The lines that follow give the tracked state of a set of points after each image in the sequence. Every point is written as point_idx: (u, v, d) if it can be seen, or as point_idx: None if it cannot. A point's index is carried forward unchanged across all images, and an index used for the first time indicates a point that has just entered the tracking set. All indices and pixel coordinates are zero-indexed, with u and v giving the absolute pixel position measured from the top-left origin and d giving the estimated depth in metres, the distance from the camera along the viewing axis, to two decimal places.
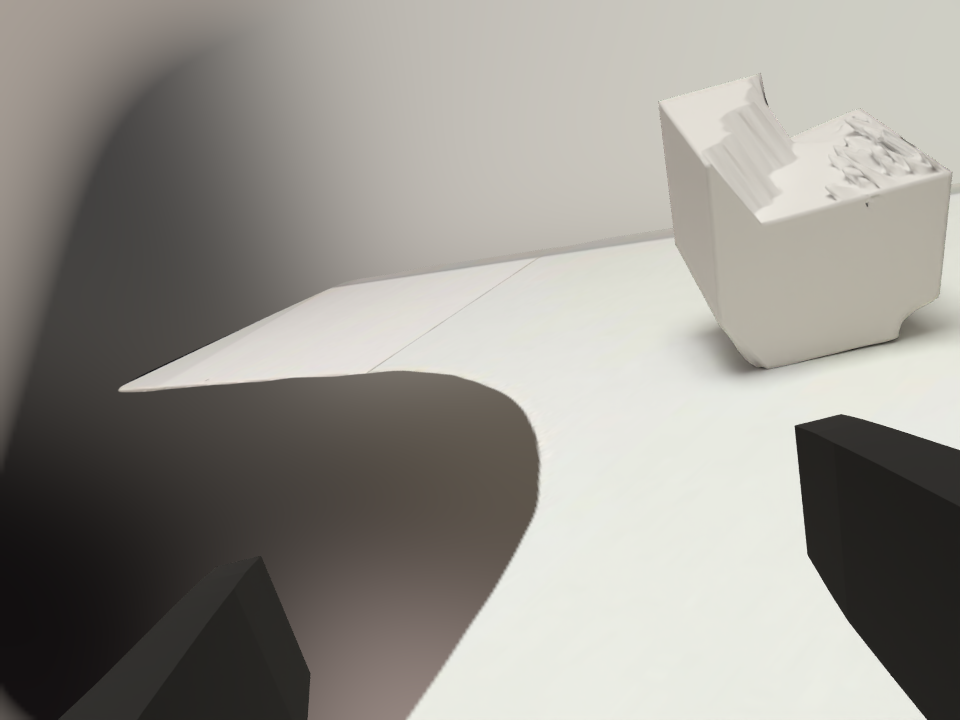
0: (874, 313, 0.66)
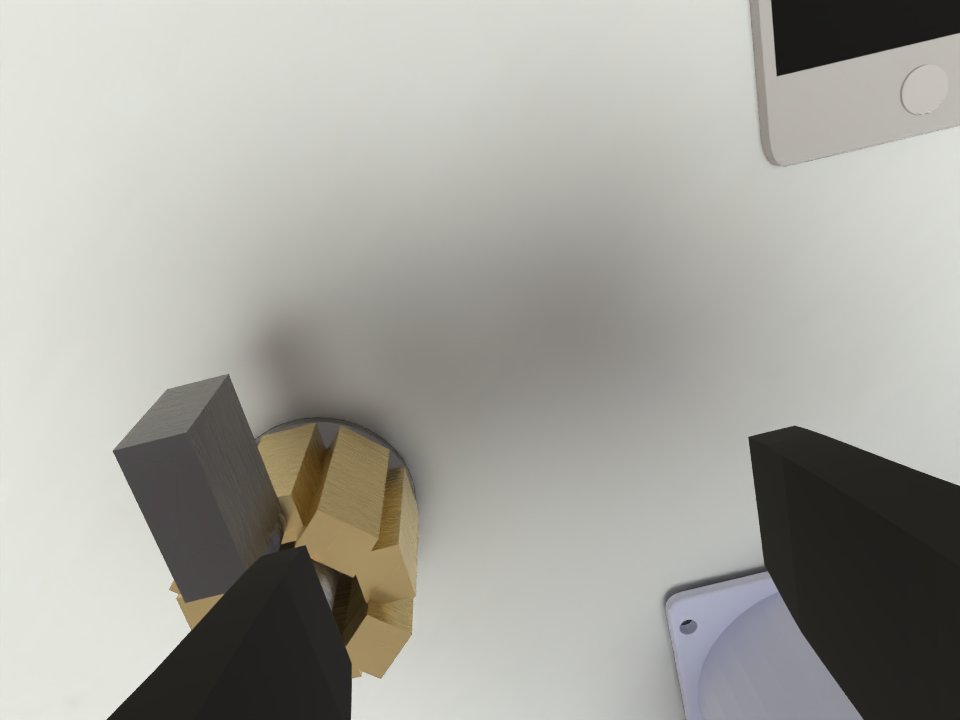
0: None
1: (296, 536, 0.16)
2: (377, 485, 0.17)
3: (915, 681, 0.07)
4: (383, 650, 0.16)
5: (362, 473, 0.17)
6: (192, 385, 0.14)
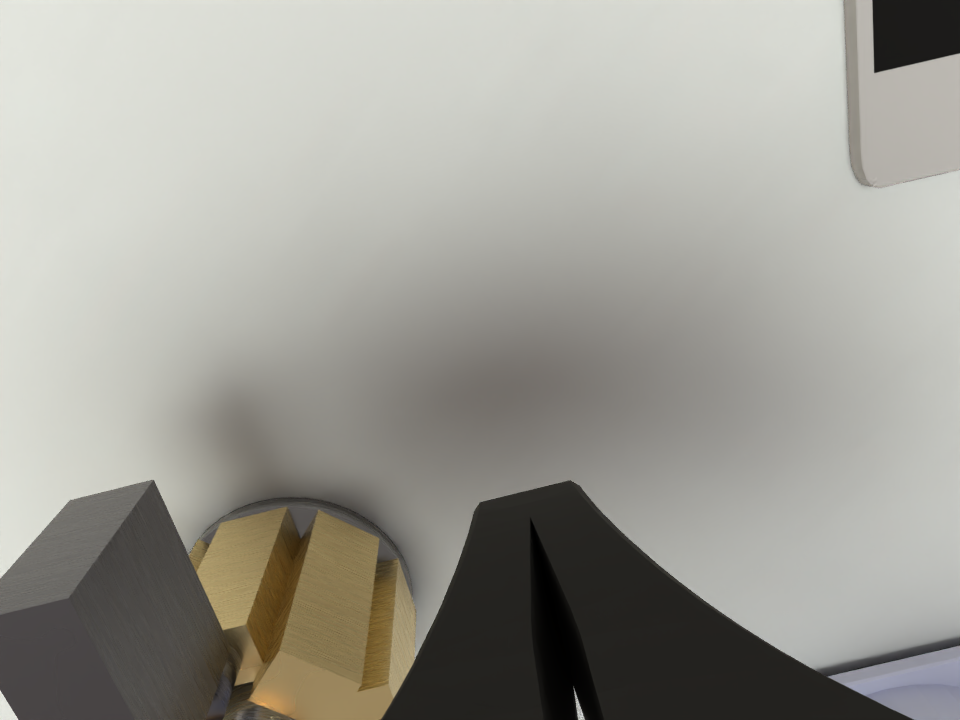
0: None
1: (254, 676, 0.12)
2: (362, 596, 0.13)
3: None
4: None
5: (344, 579, 0.13)
6: (104, 494, 0.10)
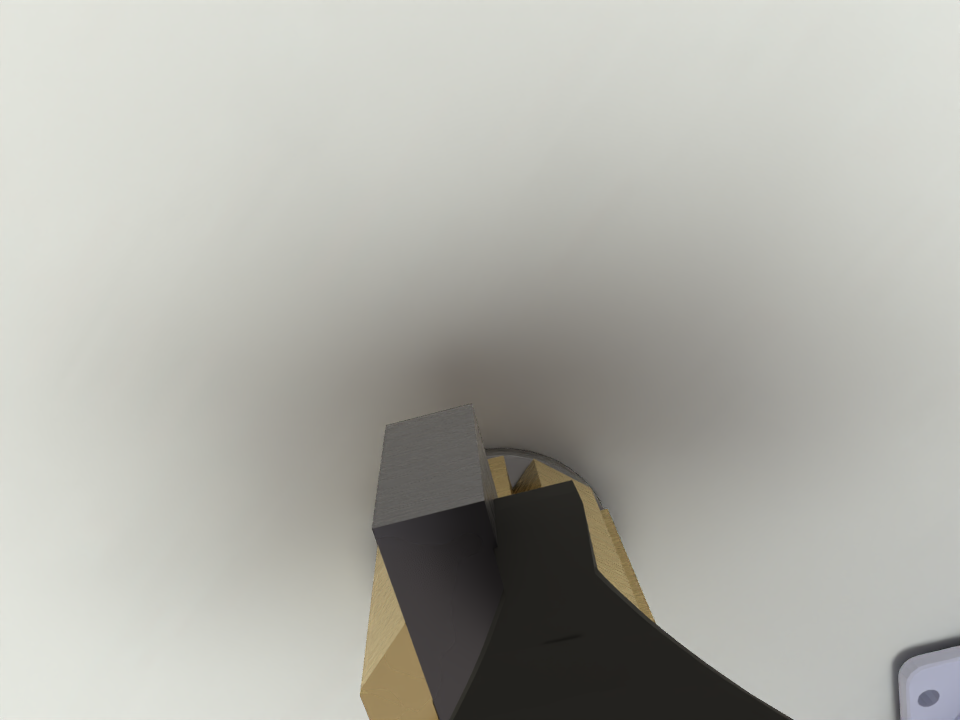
0: None
1: None
2: (605, 540, 0.13)
3: None
4: None
5: None
6: (421, 419, 0.10)
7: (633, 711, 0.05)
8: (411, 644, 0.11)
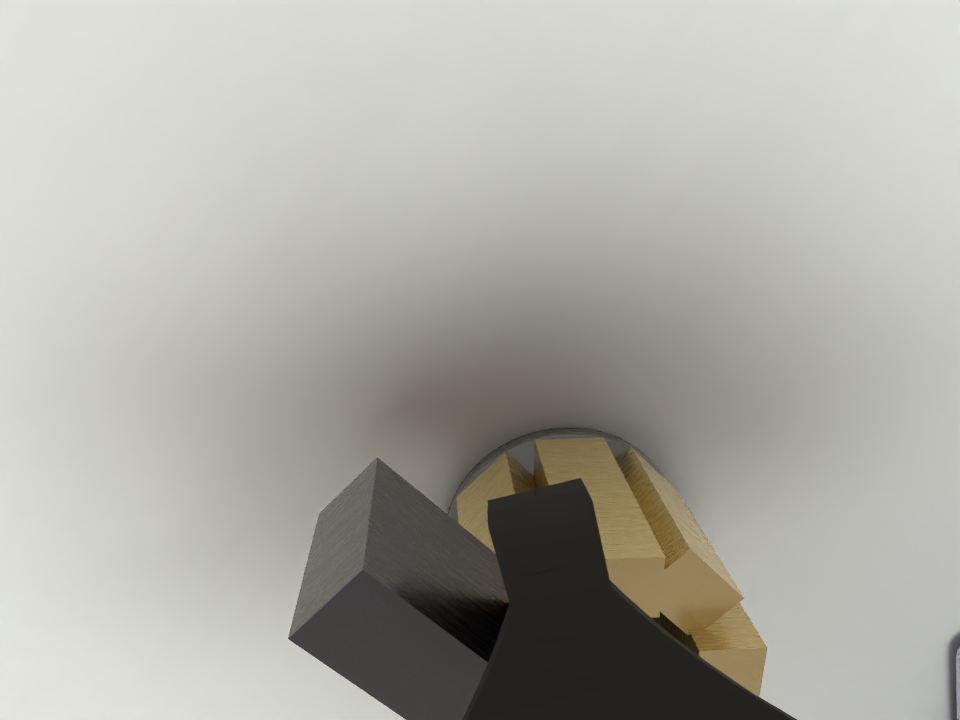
0: None
1: None
2: (619, 488, 0.13)
3: None
4: (741, 682, 0.12)
5: (593, 482, 0.13)
6: (345, 493, 0.10)
7: (651, 707, 0.05)
8: None
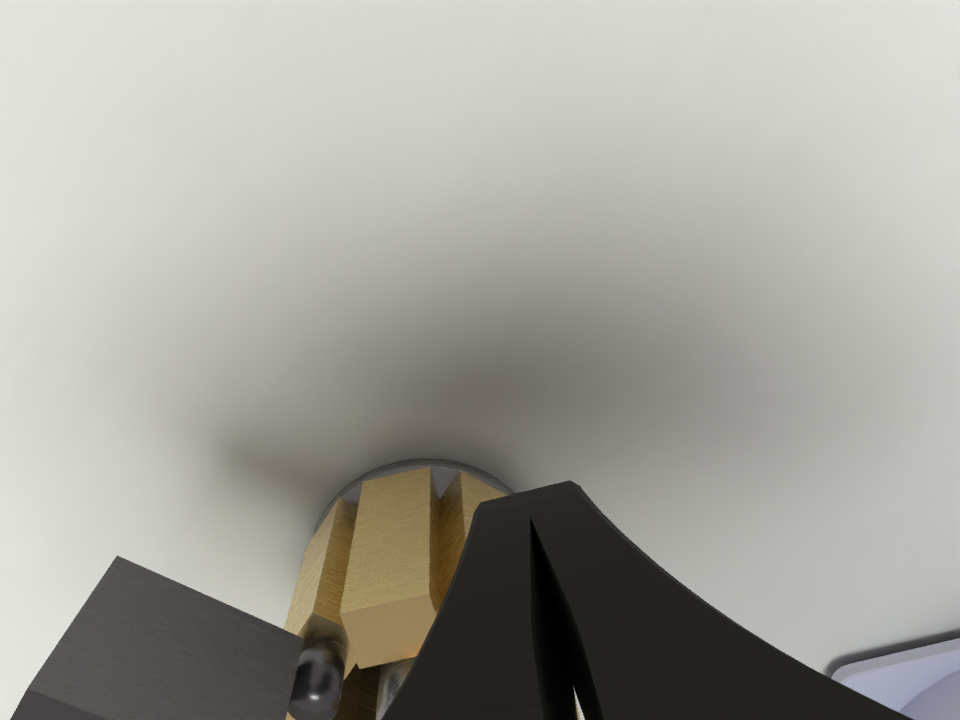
0: None
1: None
2: (419, 523, 0.13)
3: None
4: None
5: (398, 520, 0.13)
6: None
7: None
8: None
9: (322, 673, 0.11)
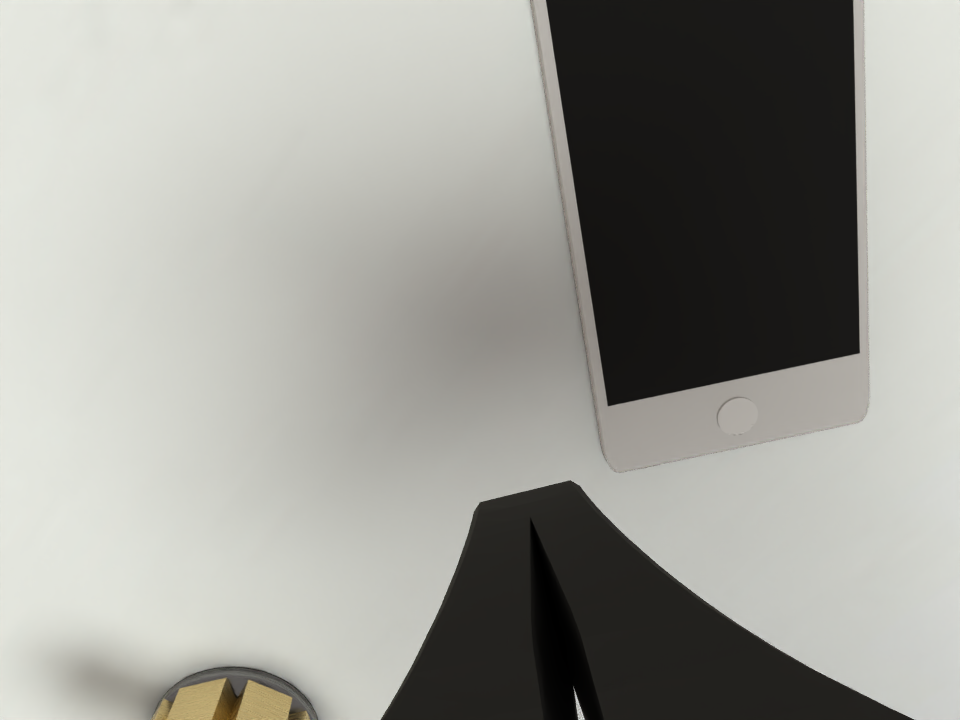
0: None
1: None
2: None
3: None
4: None
5: None
6: None
7: None
8: None
9: None
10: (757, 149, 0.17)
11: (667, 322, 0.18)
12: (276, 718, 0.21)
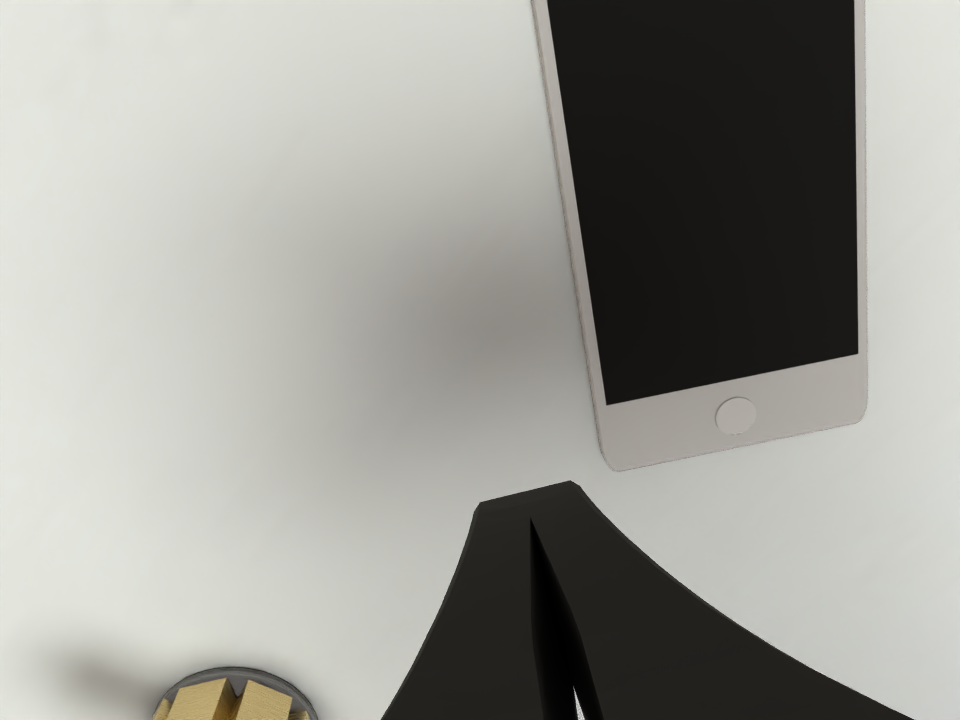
0: None
1: None
2: None
3: None
4: None
5: None
6: None
7: None
8: None
9: None
10: (757, 150, 0.17)
11: (666, 322, 0.18)
12: (276, 718, 0.21)
